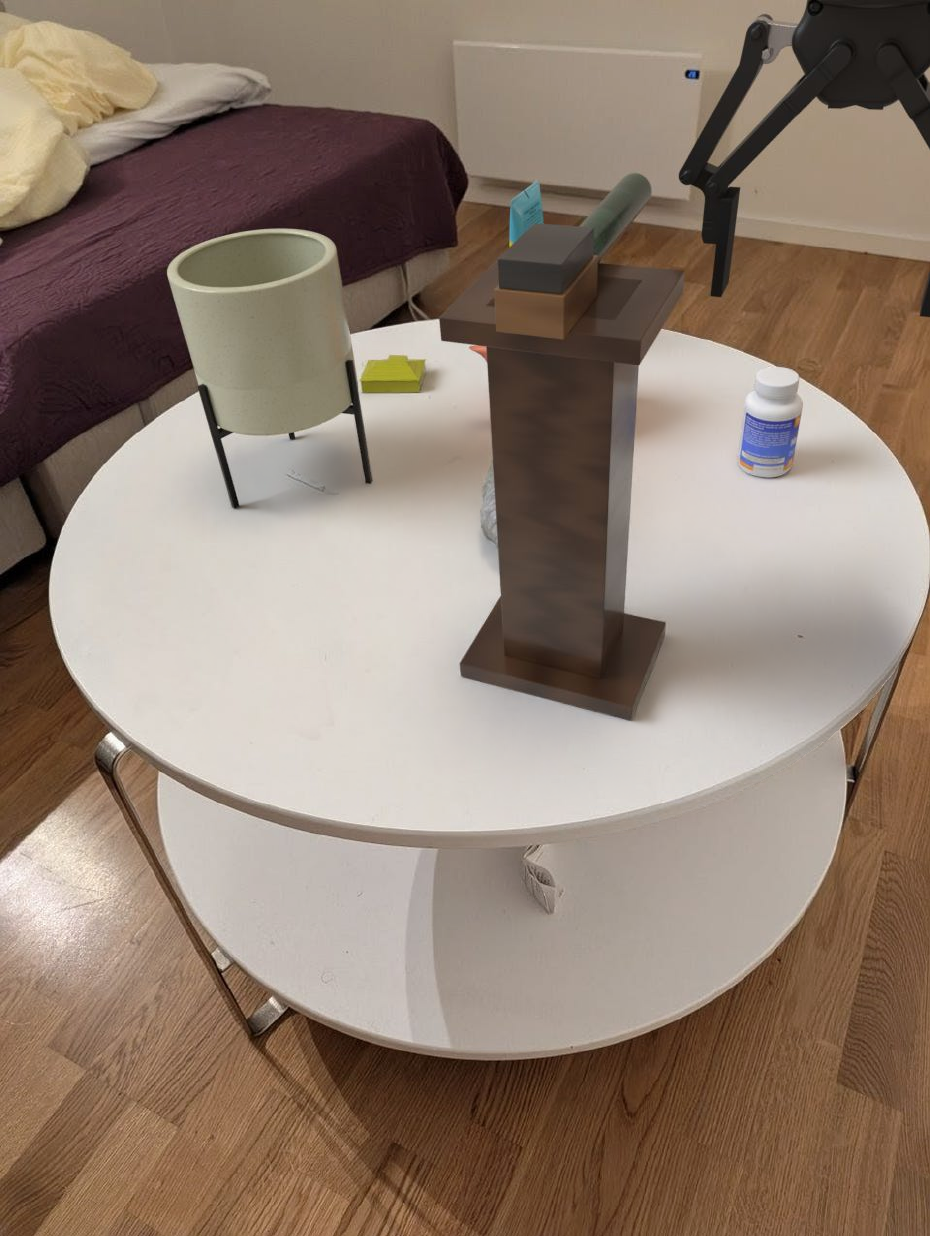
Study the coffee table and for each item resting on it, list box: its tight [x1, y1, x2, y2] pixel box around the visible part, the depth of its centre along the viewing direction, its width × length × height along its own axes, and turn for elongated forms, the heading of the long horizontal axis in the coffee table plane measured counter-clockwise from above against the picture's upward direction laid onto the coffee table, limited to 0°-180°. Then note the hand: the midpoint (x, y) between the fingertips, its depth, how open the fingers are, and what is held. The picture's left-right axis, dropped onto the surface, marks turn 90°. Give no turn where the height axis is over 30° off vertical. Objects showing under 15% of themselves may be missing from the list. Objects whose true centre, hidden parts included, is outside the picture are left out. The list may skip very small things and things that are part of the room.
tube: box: [508, 180, 545, 248], centre depth 110 cm, size 7×5×19 cm, turn 158°
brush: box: [494, 172, 653, 339], centre depth 56 cm, size 21×4×4 cm, turn 157°
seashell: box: [480, 460, 498, 549], centre depth 86 cm, size 6×14×8 cm, turn 177°
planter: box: [166, 228, 374, 509], centre depth 90 cm, size 15×16×23 cm
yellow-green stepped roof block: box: [359, 354, 438, 399], centre depth 112 cm, size 10×9×3 cm
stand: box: [438, 259, 686, 721], centre depth 65 cm, size 14×10×30 cm
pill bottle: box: [737, 366, 804, 478], centre depth 90 cm, size 5×5×10 cm
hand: (819, 299), depth 63 cm, fingers open, 13 cm apart
